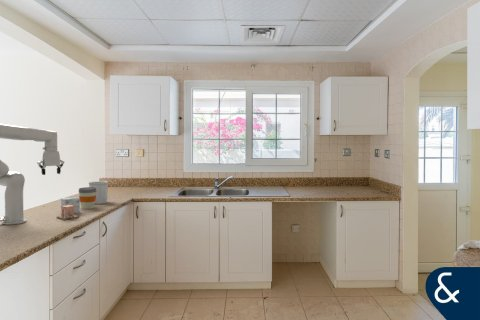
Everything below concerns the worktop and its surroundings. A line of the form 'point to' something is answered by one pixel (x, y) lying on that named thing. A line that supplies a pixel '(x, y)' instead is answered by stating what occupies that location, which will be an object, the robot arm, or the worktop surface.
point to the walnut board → (67, 217)
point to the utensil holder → (100, 191)
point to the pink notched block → (68, 207)
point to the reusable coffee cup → (87, 197)
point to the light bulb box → (71, 201)
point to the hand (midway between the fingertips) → (51, 174)
